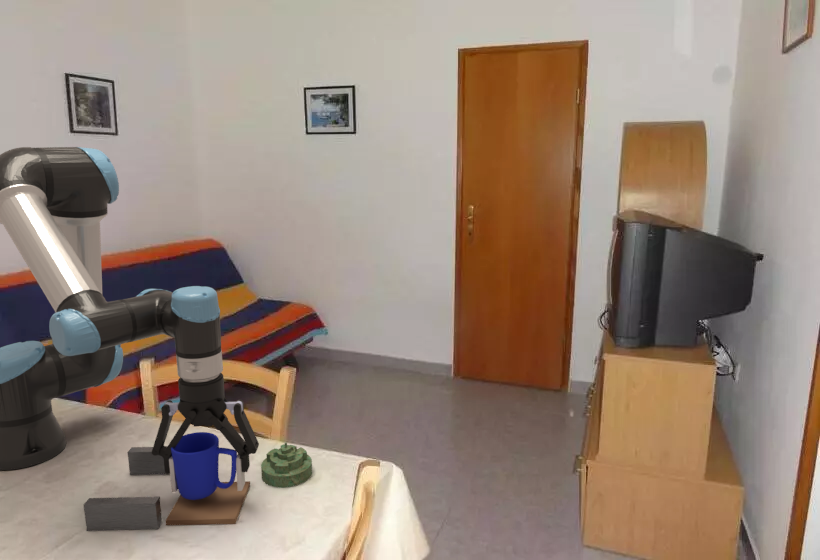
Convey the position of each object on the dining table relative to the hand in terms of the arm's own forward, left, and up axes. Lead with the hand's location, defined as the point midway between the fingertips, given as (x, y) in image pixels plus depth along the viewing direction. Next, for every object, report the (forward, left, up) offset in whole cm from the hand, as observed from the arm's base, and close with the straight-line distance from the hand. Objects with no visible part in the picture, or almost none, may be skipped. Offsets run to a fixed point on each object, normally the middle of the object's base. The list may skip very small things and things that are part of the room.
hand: (208, 487), depth 109 cm
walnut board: (0, 0, -3) cm, 3 cm away
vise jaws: (-4, -13, -3) cm, 14 cm away
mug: (0, 0, -1) cm, 1 cm away
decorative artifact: (-10, +13, -4) cm, 17 cm away
